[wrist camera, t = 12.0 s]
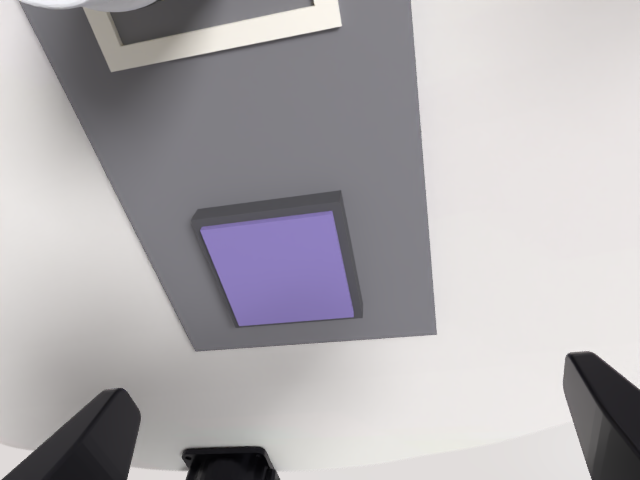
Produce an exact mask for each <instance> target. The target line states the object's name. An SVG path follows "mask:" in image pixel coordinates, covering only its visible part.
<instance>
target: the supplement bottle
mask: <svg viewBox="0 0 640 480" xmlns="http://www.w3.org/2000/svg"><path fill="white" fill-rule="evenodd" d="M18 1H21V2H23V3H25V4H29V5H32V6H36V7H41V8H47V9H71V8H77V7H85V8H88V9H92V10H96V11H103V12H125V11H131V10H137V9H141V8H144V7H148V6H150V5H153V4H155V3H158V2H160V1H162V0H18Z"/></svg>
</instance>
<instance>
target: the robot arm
mask: <svg viewBox="0 0 640 480" xmlns="http://www.w3.org/2000/svg"><path fill="white" fill-rule="evenodd" d="M563 389H564V394H565V397H566V400H567V403H568V407H569V410H570V413H571V416H572V419H573V423H574V426H575V429H576V432H577V435H578V438H579V442H580V445H581V448H582V451H583V454H584V457H585V460H586V464H587V467H588V469H589V473H590V476H591V479H592V480H640V389H638V388H637V387H636V386H635V385H633V384H632V383H631V382H630V381H628V380H627V379H626V378H625V377H623V376H622V375H621V374H620V373H618V372H617V371H616V370H615V369H613V368H612V367H611V366H610V365H608V364H607V363H606V362H605V361H604V360H602V359H601V358H600V357H599V356H597V355H596V354H595V353H593V352H590V351H584V352H571V353H568V354H567V355H566V358H565V367H564V376H563ZM140 421H141V414H140V411H139V409H138V407H137V406H136V404H135V403H134V401H133V400H132V398H131V397H130V395H129V394H128V392H127V391H126V390H125V389H123V388H114V389H106V390H104V391H102V392H101V393H100V394H99V395H97V396H96V397H95V398H94V399H93V400H92V401H91V402H89V403H88V404H87V405H86V406H85V407H84V408H83V409H82V410H80V411H79V412H78V413H77V414H76V415H75V416H74V417H72V418H71V419H70V420H69V421H68V422H67V423H66V424H64V425H63V426H62V427H61V428H60V429H59V430H58V431H56V432H55V433H54V434H53V435H52V436H51V437H50V438H48V439H47V440H46V441H45V442H44V443H43V444H42V445H41V446H39V447H38V448H37V449H36V450H35V451H34V452H33V453H31V454H30V455H29V456H28V457H27V458H26V459H25V460H23V461H22V462H21V463H20V464H19V465H18V466H17V467H16V468H14V469H13V470H12V471H11V472H10V473H9V474H8V475H6V476H5V477H4V478H3V479H2V480H127V477H128V473H129V469H130V465H131V460H132V456H133V452H134V448H135V443H136V439H137V435H138V431H139V426H140ZM182 459H183V460H184V462H185V463H186V465H187V467H188V468H189V471H188V474H187V477H186V480H280V478H279V476H278V474H277V472H276V470H275V469H274V468H273V465H272V463H271V461H270V459H269V457H268V455H267V452H266V451H265V450H264V449H263V448H258V447H257V448H220V449H187V450H184V452H183V455H182Z"/></svg>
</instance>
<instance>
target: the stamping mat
mask: <svg viewBox="0 0 640 480" xmlns="http://www.w3.org/2000/svg"><path fill="white" fill-rule="evenodd" d="M19 2H20V4H21V6H22V8H23V10H24V12H25V14H26V16H27V18H28V20H29V22H30V24H31V26H32V28H33V30H34V32H35V34H36V36H37V38H38V40H39V41H40V43H41V45H42V47H43V49H44V51H45V53H46V55H47V57H48V59H49V61H50V63H51V65H52V67H53V69H54V71H55V73H56V75H57V77H58V79H59V81H60V83H61V85H62V87H63V89H64V91H65V93H66V95H67V97H68V99H69V101H70V103H71V105H72V107H73V109H74V111H75V113H76V115H77V117H78V119H79V121H80V123H81V125H82V127H83V129H84V131H85V133H86V135H87V137H88V139H89V141H90V143H91V145H92V147H93V149H94V151H95V153H96V155H97V157H98V159H99V161H100V163H101V165H102V167H103V169H104V171H105V173H106V175H107V177H108V179H109V181H110V183H111V185H112V187H113V189H114V191H115V193H116V194H117V196H118V198H119V200H120V202H121V204H122V206H123V208H124V210H125V212H126V214H127V216H128V218H129V220H130V222H131V224H132V226H133V228H134V230H135V232H136V234H137V236H138V238H139V240H140V242H141V244H142V246H143V248H144V250H145V252H146V254H147V256H148V258H149V260H150V262H151V264H152V266H153V268H154V270H155V272H156V274H157V276H158V278H159V280H160V282H161V284H162V286H163V288H164V290H165V292H166V294H167V296H168V298H169V300H170V302H171V304H172V306H173V308H174V310H175V312H176V314H177V316H178V318H179V320H180V322H181V324H182V326H183V328H184V330H185V332H186V334H187V336H188V338H189V340H190V342H191V344H192V346H193V347H194V349H195V351H208V350H223V349H237V348H252V347H266V346H280V345H295V344H309V343H323V342H338V341H352V340H366V339H381V338H395V337H409V336H424V335H437V331H436V318H435V305H434V293H433V280H432V267H431V254H430V241H429V229H428V216H427V203H426V190H425V178H424V165H423V152H422V139H421V127H420V114H419V101H418V88H417V76H416V63H415V50H414V37H413V24H412V12H411V0H162V1H160V2H158V3H155V4H153V5H150V6H148V7H144V8H141V9H137V10H131V11H125V12H103V11H96V10H92V9H88V8H85V7H77V8H71V9H47V8H41V7H36V6H32V5H29V4H25V3H23V2H21V1H19Z"/></svg>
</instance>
